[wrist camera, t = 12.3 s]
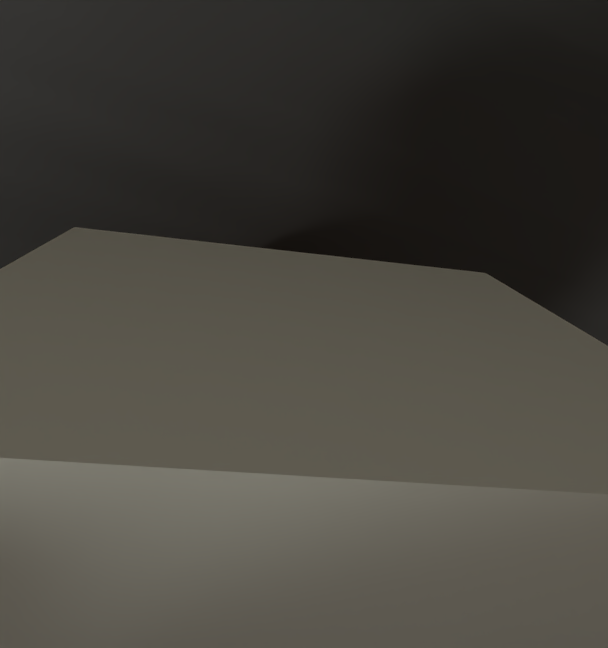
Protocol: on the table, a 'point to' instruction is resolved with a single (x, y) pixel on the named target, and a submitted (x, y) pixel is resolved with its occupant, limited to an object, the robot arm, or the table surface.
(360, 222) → the table surface
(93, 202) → the table surface
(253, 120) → the table surface
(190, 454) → the pale grey carton
